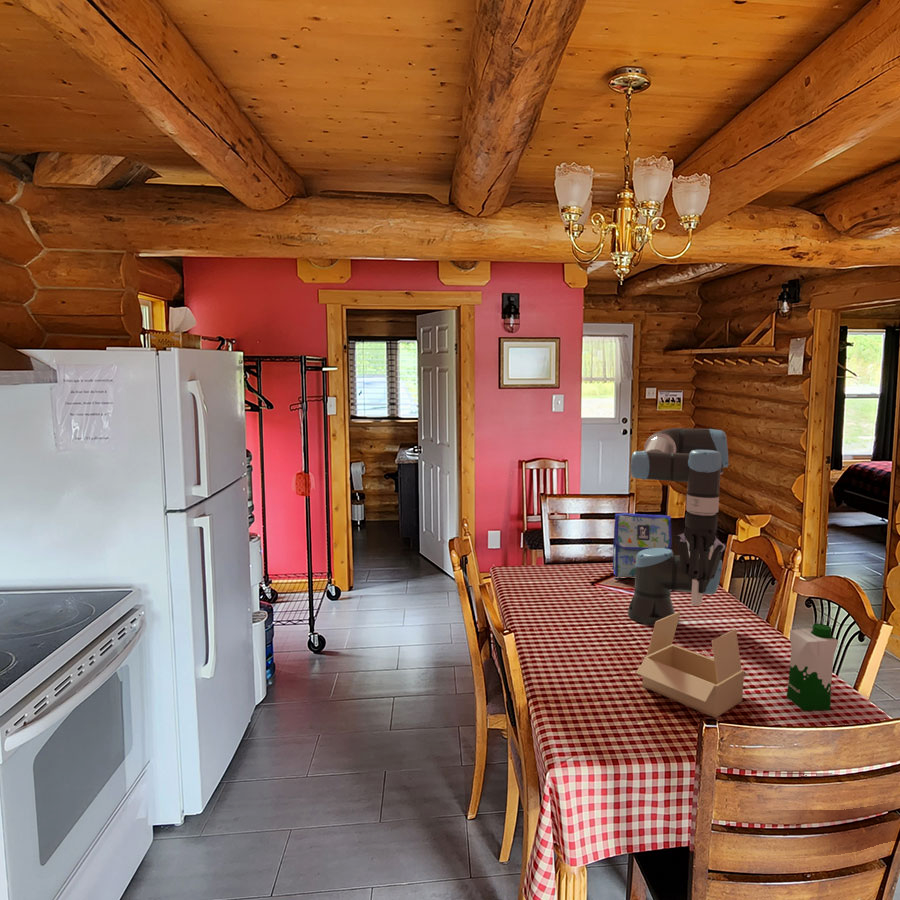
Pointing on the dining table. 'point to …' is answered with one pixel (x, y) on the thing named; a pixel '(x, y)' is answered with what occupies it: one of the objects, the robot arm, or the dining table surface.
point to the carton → (691, 680)
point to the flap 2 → (726, 655)
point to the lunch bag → (637, 539)
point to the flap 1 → (663, 633)
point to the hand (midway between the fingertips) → (696, 604)
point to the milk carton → (811, 667)
